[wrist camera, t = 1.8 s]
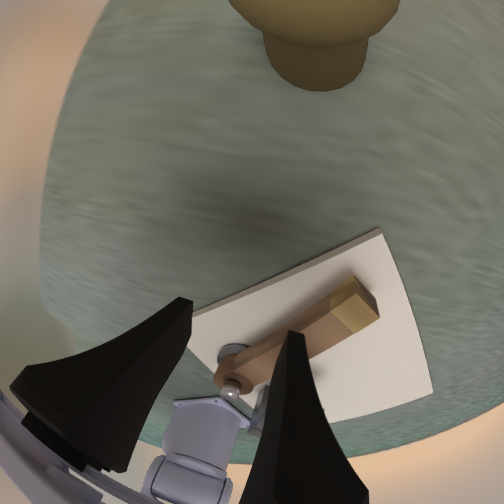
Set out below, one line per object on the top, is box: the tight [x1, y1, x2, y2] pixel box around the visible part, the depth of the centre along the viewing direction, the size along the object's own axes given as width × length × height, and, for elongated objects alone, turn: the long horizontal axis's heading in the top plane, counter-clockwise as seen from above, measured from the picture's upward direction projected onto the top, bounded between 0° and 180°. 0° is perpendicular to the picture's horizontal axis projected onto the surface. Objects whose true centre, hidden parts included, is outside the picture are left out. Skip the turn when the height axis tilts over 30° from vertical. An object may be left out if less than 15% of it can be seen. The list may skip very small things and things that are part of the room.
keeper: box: [217, 343, 325, 437], centre depth 22 cm, size 10×7×5 cm
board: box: [187, 228, 433, 423], centre depth 23 cm, size 20×21×1 cm
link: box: [213, 275, 380, 395], centre depth 19 cm, size 15×4×2 cm, turn 139°
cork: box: [229, 0, 400, 92], centre depth 8 cm, size 6×6×11 cm
